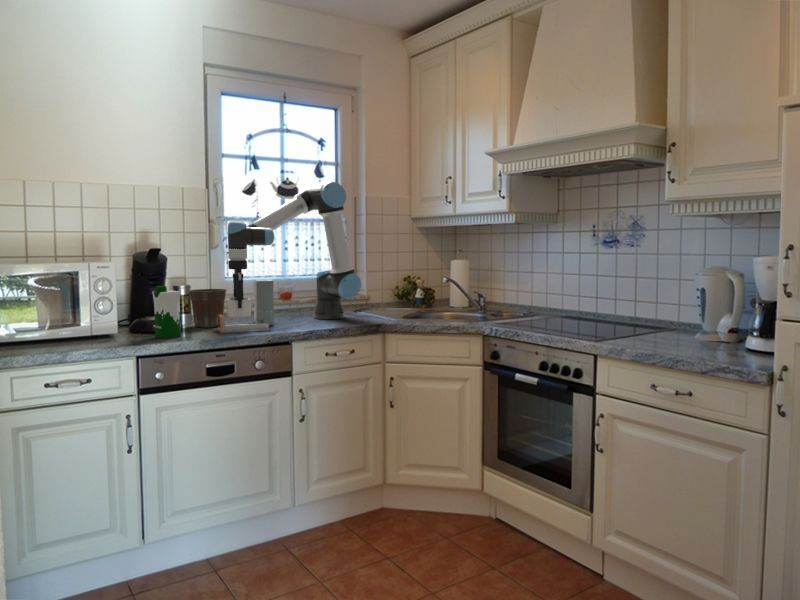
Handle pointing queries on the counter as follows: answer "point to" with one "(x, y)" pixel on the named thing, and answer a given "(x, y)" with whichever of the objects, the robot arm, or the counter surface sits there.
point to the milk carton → (166, 313)
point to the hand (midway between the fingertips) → (238, 315)
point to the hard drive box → (263, 301)
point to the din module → (232, 307)
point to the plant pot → (207, 306)
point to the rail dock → (240, 327)
